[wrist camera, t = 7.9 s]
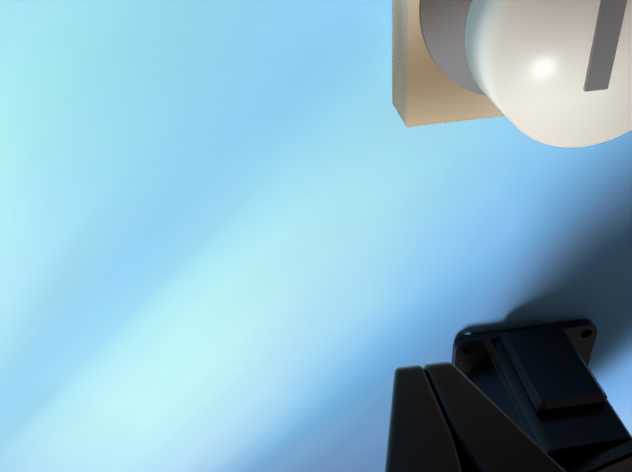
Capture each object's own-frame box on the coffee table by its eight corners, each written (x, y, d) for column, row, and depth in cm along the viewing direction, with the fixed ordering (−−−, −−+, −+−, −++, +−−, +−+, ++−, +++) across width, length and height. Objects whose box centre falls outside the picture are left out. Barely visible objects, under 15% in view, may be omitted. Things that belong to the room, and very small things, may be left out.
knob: (592, 78, 17) (680, 137, 13) (436, 95, 17) (486, 160, 13) (629, -105, 14) (749, -88, 11) (445, -87, 14) (510, -64, 11)
